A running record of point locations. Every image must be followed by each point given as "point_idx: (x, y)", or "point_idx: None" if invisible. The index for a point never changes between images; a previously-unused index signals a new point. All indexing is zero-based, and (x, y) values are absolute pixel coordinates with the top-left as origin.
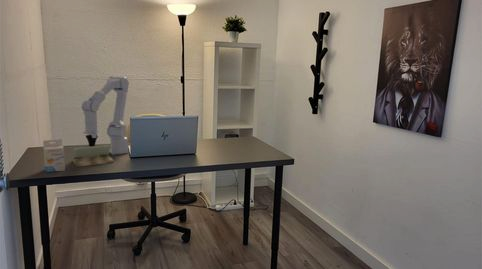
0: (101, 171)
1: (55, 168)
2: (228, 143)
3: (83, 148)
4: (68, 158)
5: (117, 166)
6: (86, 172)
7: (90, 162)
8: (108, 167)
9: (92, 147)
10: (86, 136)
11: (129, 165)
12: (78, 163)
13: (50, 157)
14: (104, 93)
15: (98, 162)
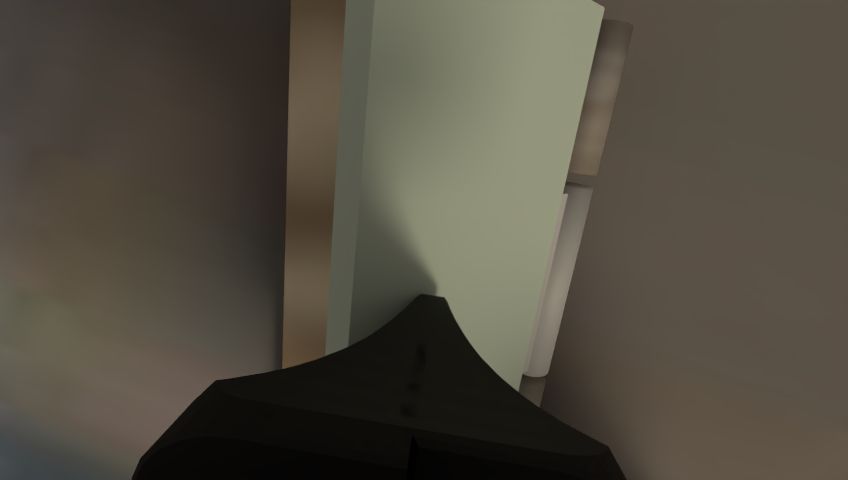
0: (17, 190)
1: None
2: None
3: (341, 141)
4: (796, 6)
5: (135, 375)
6: (24, 34)
7: (296, 181)
8: (132, 297)
9: (334, 329)
10: (217, 426)
11: (129, 464)
12: (322, 25)
13: None
14: None
15: (289, 268)
